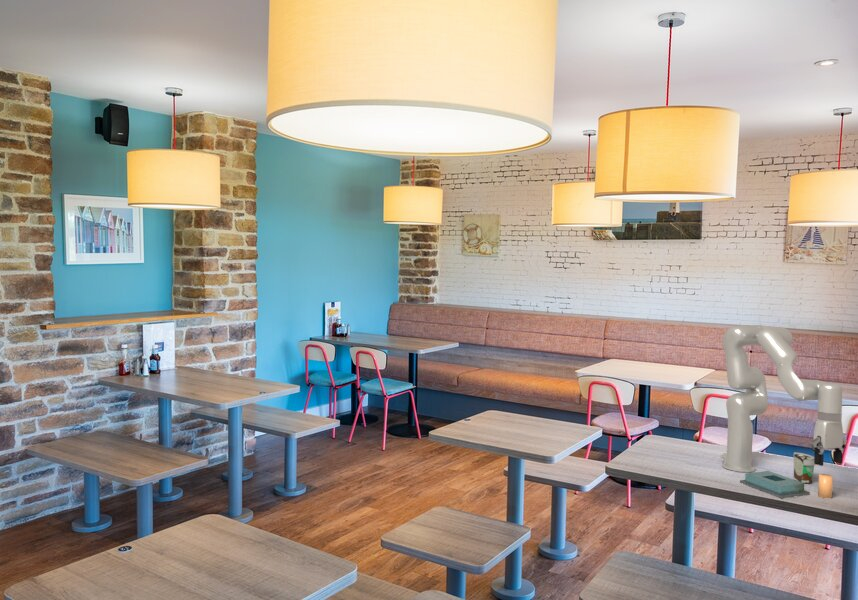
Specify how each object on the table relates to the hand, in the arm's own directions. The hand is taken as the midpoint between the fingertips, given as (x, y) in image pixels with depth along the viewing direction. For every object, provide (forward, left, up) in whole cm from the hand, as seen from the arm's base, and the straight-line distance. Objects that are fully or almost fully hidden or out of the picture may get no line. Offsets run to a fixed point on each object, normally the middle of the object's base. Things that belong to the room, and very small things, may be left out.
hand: (828, 463), depth 245 cm
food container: (-17, +10, -13) cm, 23 cm away
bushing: (-1, 0, -13) cm, 13 cm away
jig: (-14, -11, -13) cm, 21 cm away
